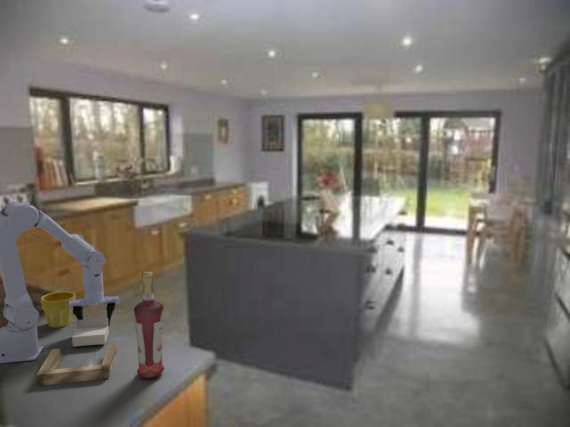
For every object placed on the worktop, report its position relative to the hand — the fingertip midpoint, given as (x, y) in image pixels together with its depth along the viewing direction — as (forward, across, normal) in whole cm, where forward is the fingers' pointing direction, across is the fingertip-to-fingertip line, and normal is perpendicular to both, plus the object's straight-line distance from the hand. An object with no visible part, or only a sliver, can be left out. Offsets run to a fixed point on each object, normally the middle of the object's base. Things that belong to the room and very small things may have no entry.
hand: (95, 326), depth 140 cm
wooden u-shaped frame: (+2, -2, -23) cm, 24 cm away
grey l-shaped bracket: (+2, -1, -7) cm, 8 cm away
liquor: (+2, +16, -32) cm, 36 cm away
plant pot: (+2, -12, +11) cm, 16 cm away
